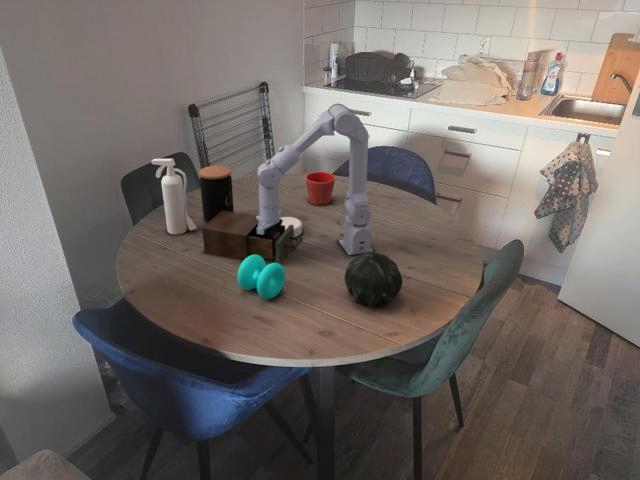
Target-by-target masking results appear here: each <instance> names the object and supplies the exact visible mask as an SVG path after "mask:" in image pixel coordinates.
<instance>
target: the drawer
mask: <svg viewBox="0 0 640 480" xmlns="http://www.w3.org/2000/svg"><path fill="white" fill-rule="evenodd" d="M257 227H258V226H257ZM257 227H256V228H257ZM256 228H255V229H254V230H253V231H252V232H251V233H250V235H249V236H248V237H247V241H248V255H259V256H261V257H262V258H263V259H267V260H272V261H273V260H274V258H275V263H278V264H281V262H282V261H283V260H284V258H285V257H286V255H287V254H288V253H289V251H290V250H291V249H292V250H293V251H296V250H297V249H298V247H299V246H300V244H302V241H303V237H302V236H298V237H294V225H289V227H288V228H287V229H286V230H285V225H281V226H280V229H279V232H280V238H279V239H278V240H277V241H276V251H275V252H274V251H273V240H269V239H263V238H260V237H259V235H258V234H257V232H256Z"/></svg>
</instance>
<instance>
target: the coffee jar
mask: <svg viewBox="0 0 640 480" xmlns="http://www.w3.org/2000/svg"><path fill="white" fill-rule="evenodd" d="M231 174H232V169H231V168H230V167H229V166H226V165H209V166H206V167H202V168H201V169H200V170H199V171H198V175H199V185H200V186H199V187H200V196H201V206H202V212H203V213H202V214H203V216H202V217H203V220H204V222H206V224H207V223H209V222H210V221H211V220H212V219H213V218H214V217H215V216H216V215H218V214H219V213H220V212H221V211H222V210H224V211H230V212H235V211H234V210H235V209H234V193H233V178H232V175H231Z"/></svg>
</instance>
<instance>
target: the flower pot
mask: <svg viewBox="0 0 640 480" xmlns="http://www.w3.org/2000/svg"><path fill="white" fill-rule="evenodd" d="M335 182H336V176H335V175H334V174H332V173H330V172H327V171H313V172H310V173H308V174H306V175H305V184H306V189H307V195H308V201H309V203H310V204H312V205H315V206H325V205H328V204H329V203H330V202H331V199H332V195H333V192H334V191H333V190H334V188H335V187H334V186H335Z"/></svg>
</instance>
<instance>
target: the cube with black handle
mask: <svg viewBox="0 0 640 480" xmlns="http://www.w3.org/2000/svg"><path fill="white" fill-rule="evenodd" d="M279 238H280V232H276V231H275V232H274V234H273V237H272V240H273V251H274V252H275V251H276V241H277V240H278V239H279Z"/></svg>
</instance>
